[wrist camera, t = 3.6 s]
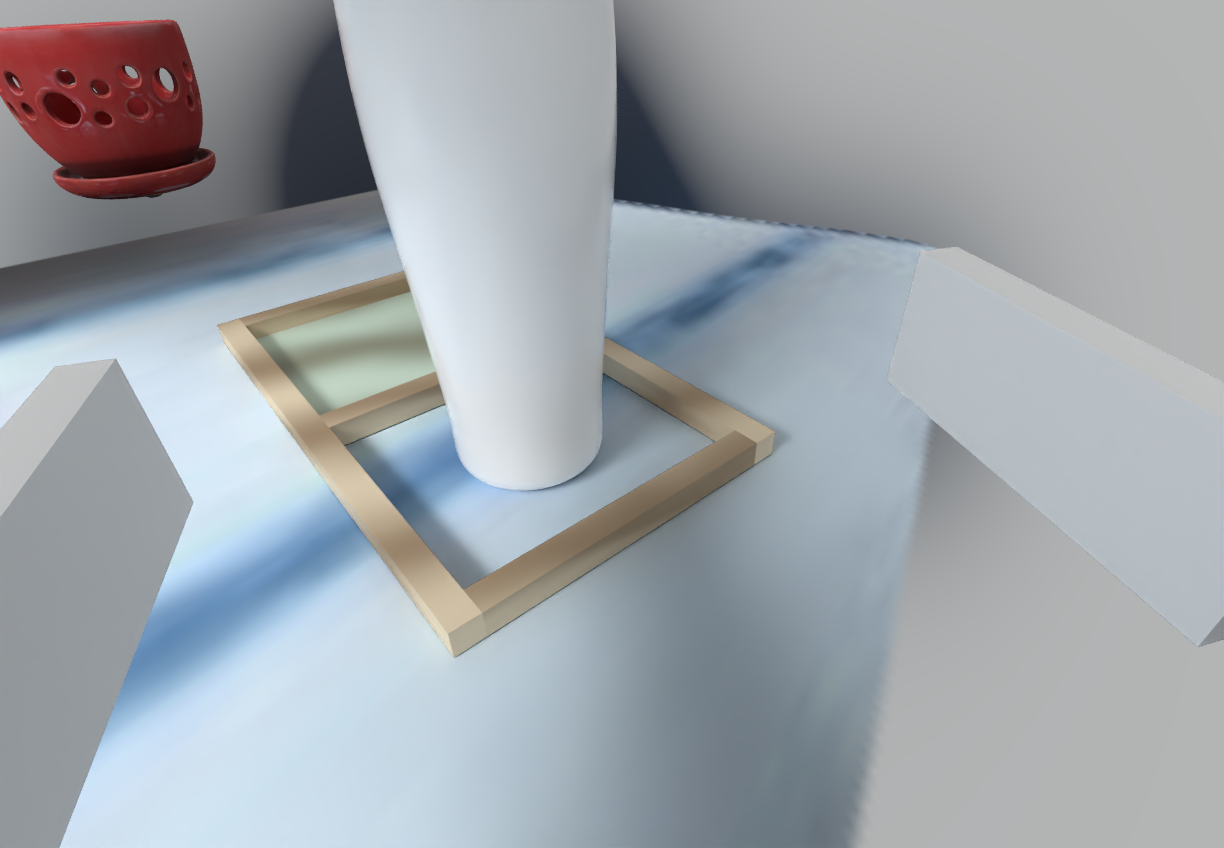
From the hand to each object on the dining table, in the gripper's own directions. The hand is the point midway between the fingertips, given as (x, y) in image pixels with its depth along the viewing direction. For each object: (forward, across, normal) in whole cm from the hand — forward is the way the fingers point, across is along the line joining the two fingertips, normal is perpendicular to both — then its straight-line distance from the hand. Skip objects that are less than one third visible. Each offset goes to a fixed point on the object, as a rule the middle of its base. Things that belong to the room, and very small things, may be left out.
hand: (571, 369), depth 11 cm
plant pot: (+56, -26, -9) cm, 62 cm away
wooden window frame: (+15, -2, -9) cm, 17 cm away
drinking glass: (+10, 0, -9) cm, 13 cm away
